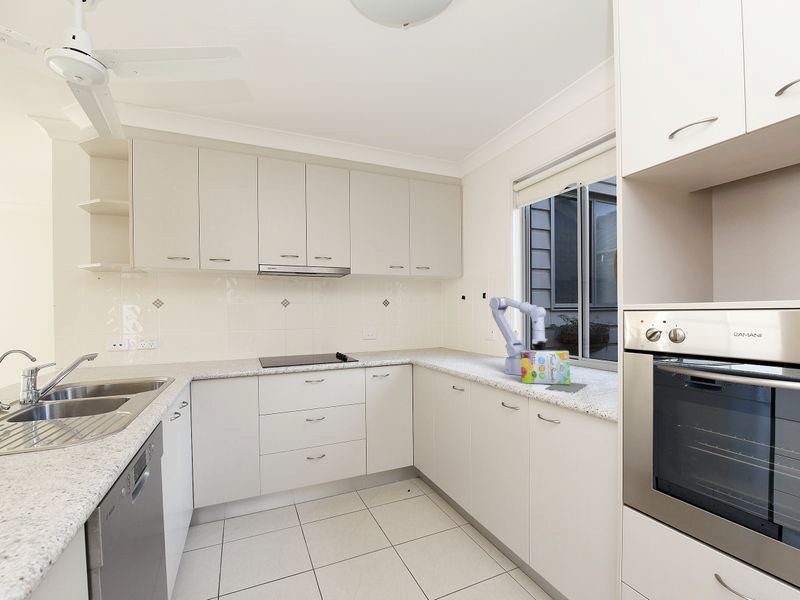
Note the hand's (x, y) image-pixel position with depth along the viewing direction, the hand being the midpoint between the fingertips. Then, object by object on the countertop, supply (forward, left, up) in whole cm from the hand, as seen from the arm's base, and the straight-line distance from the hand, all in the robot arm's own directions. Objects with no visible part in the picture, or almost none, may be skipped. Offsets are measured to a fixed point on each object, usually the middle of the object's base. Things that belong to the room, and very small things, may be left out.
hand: (540, 357), depth 187 cm
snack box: (+7, -13, -10) cm, 18 cm away
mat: (+17, -15, -10) cm, 25 cm away
